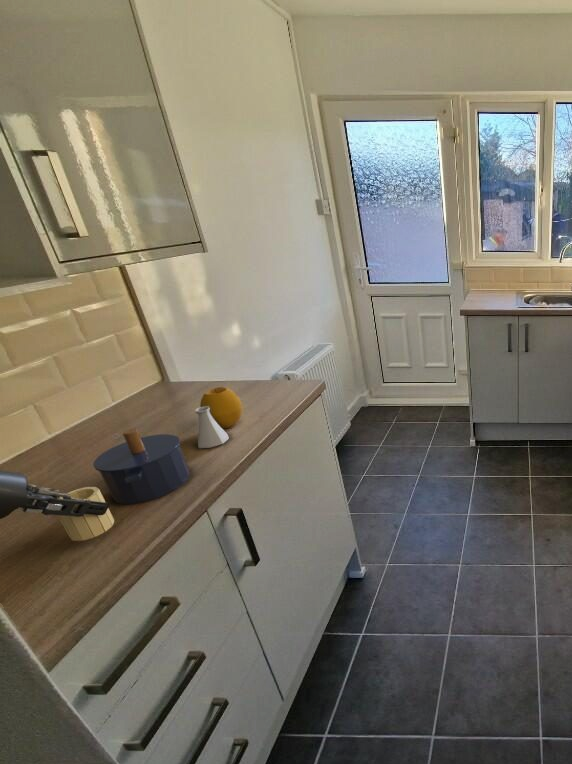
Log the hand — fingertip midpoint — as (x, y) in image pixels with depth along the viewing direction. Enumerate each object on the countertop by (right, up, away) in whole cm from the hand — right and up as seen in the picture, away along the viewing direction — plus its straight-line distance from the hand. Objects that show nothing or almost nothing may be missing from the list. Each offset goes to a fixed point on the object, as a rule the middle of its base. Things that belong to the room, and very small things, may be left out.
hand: (94, 505), depth 78 cm
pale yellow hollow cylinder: (-1, -5, 0) cm, 5 cm away
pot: (-3, 0, +17) cm, 17 cm away
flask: (-2, +7, +34) cm, 35 cm away
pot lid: (-4, +8, +13) cm, 16 cm away
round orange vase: (-4, +11, +42) cm, 44 cm away
